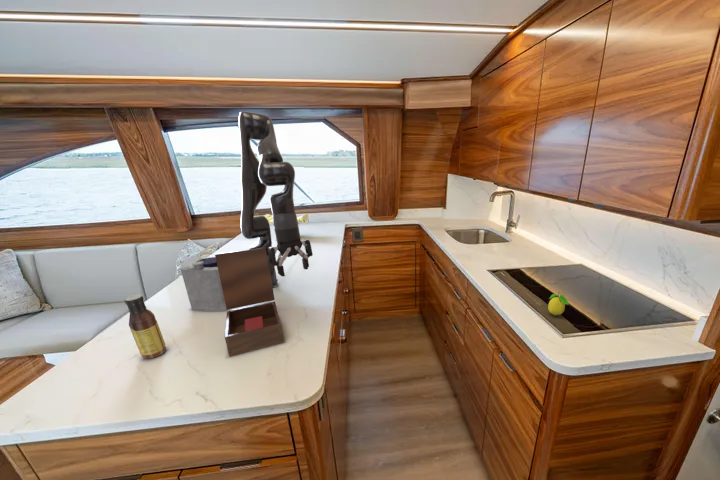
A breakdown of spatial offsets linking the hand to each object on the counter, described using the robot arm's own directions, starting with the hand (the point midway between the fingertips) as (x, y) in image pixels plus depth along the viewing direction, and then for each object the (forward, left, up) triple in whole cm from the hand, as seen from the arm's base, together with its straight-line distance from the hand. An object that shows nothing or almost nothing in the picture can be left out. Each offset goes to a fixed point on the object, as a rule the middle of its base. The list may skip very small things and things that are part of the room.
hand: (294, 272), depth 103 cm
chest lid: (-17, -6, -3) cm, 18 cm away
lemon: (+86, +39, -20) cm, 97 cm away
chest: (-9, -13, -20) cm, 25 cm away
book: (-8, -13, -19) cm, 24 cm away
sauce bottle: (-30, -33, -20) cm, 48 cm away
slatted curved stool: (-97, +98, -20) cm, 139 cm away
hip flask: (-42, -6, -20) cm, 47 cm away
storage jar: (-56, +7, -20) cm, 60 cm away
